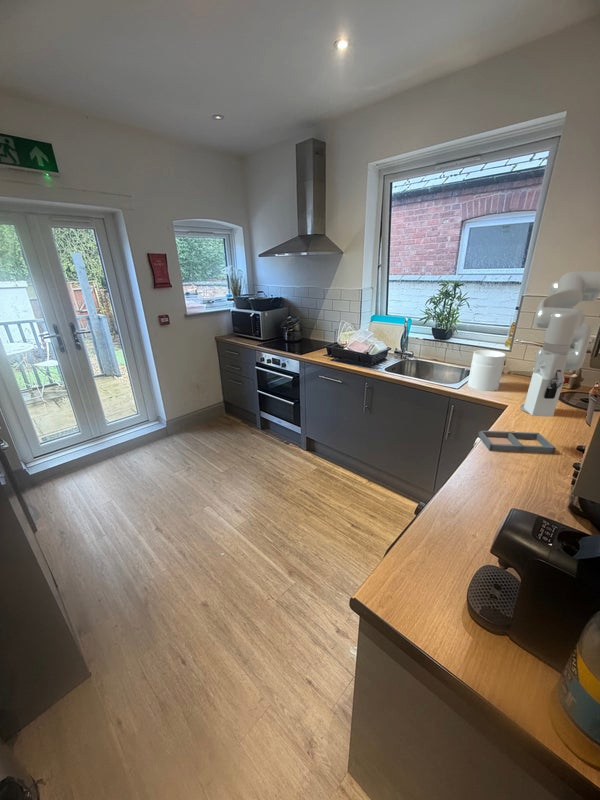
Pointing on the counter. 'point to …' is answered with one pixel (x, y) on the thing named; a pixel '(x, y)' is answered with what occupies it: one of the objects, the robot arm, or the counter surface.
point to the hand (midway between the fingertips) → (543, 393)
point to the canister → (486, 370)
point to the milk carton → (540, 396)
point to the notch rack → (514, 442)
